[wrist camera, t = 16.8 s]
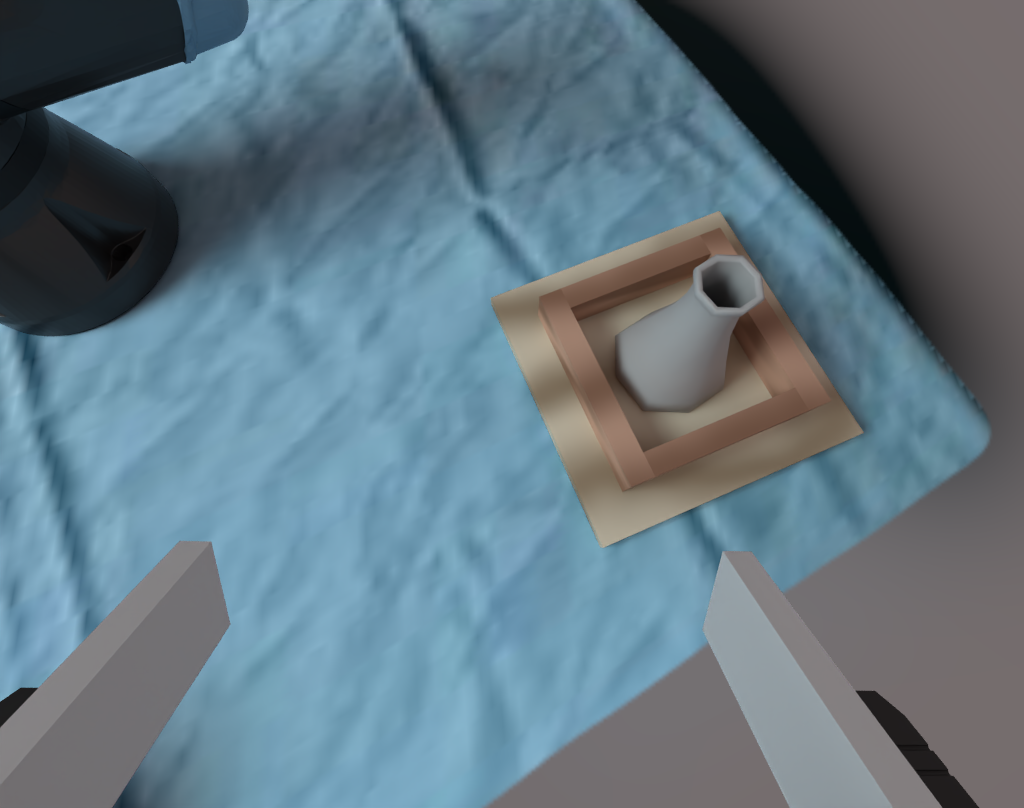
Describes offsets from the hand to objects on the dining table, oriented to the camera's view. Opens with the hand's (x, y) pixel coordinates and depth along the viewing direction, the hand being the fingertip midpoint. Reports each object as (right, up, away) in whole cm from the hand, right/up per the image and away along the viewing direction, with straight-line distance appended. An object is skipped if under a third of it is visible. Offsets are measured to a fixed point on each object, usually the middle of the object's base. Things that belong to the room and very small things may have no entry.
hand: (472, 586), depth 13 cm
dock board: (+11, +7, +20) cm, 24 cm away
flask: (+11, +7, +19) cm, 23 cm away
